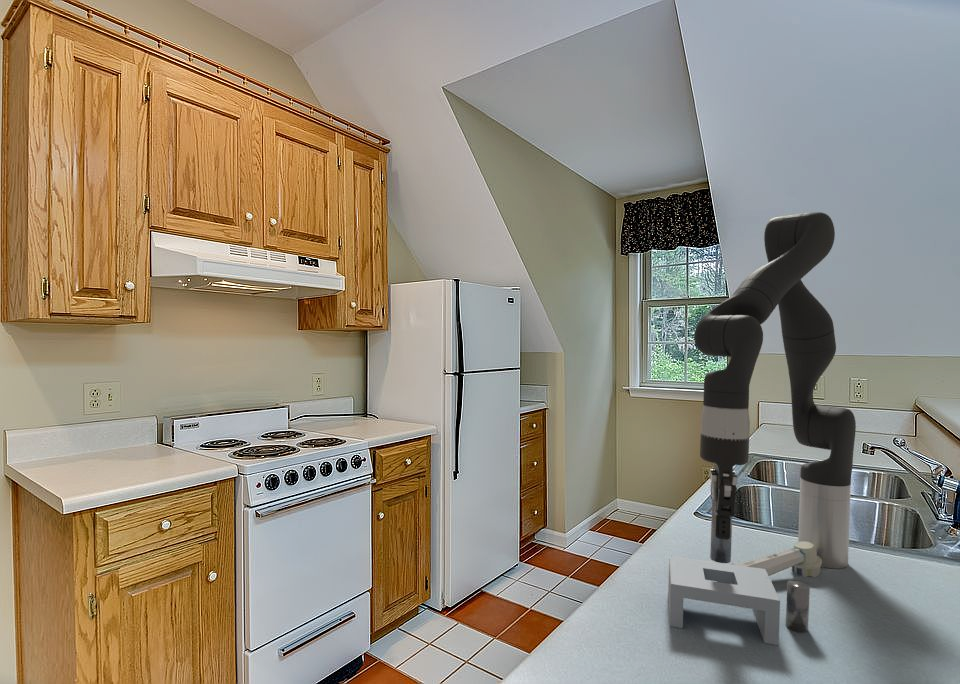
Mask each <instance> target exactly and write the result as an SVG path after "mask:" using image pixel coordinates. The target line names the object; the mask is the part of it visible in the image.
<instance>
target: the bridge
mask: <svg viewBox="0 0 960 684" xmlns="http://www.w3.org/2000/svg"><path fill="white" fill-rule="evenodd" d="M668 561H669V562H668V585H667V586H668V590H667V591H668V597H667V598H668V616H669V618H668V619H669V620H668V621H669V626H670V627H673V628H679V629H683V627H684V599H686V600H687V599H688V600H695V601H700V602H706V603H713V604H719V605H726V606H732V607H737V608H744V609H749V610H752V612H753V615H754V617H755V619H756V622H757V626H758V628H759V631H760V635H761V638H762V640H763V643H764V644H768V645H770V644H771V645H775V646H779V644H780V643H779V641H780V617H781V616H780V615H781V611H780V610H781V600H780V598H779V595H778V593H777V591H776V589H775V587H774V584H773V583H772V580H771V578H770V576H768V573H767V571H766V569H761V568H754V567H746V566H739V565H732V563H731V564H730V563H719V562H715V561H710V560H702V559H695V558H688V557H682V556H676V555H675V556H673V555H669V557H668ZM721 582H724V583H721ZM728 583H731V584H728Z"/></svg>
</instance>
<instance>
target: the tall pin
mask: <svg viewBox="0 0 960 684" xmlns="http://www.w3.org/2000/svg"><path fill="white" fill-rule="evenodd" d="M712 490H713V489H712ZM716 494H717V491H716ZM717 496H718V494H717ZM715 507H716V502H715V501H714V500H713V498H712V499H711V521H710V523H711V525H710V553H709V557H710V560H712V562H718V563H725V564H730V563H731V562H732V560H731V559H732V538H733V536H732V535H733V517H732V518H731V524H730V538H729V539H728V540H726V539H719V538H717V537H716V535H715V525H716V514H715ZM721 508H726V509H728V505H721Z"/></svg>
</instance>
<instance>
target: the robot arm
mask: <svg viewBox="0 0 960 684" xmlns="http://www.w3.org/2000/svg"><path fill="white" fill-rule="evenodd" d="M835 235H836V233H835V225H834V222H833V219H832V218H831V217H830V215H828V214H827V213H824V212H822V211H815V212H814V211H813V212H803V213H796V214H788V215H781V216H776V217H773V218H771V219H769V220H768V221H767V224H766V226H765V228H764V236H763V241H764V249H765V254H766V259H767V262H768V263H766V264H764V265H762V266H761V267H759V268H757V269H756V270H754V271H753V272H752V273H750V274H749V275H748V276H746V278H745V279H744V280H743V281H742V282H741V283H740V284H739V286H738V287H737V288H736V290H735V291H734V292H733V294H732V295H731V296H730V297H729V298H727V299H725V300H724V301H722V302H720V303H719V304H718V305H716V306H715V307H713V308H712V309H710V310H709V311H708V312H707V313H706V314H704V316H703V317H701V319H700V320H699V321H698V323H697V324H696V327H695V330H694V334H693V335H694V337H693V340H694V344H695V347H696V348H697V350H698V351H699V352H700V353H702V354H703V355H705V356H710V357H725V358H726V357H727V358H730V359H729V362H728V364H727V366H726V367H725V368H724V369H718V370H717V369H716V370H713V371H709V372H707V373H706V375H705V377H704V378H703V379H704V380H703V403H702V404H703V405H702V413H701V417H700V442H699V443H700V444H699V445H700V446H699V457H700V459H702V460H703V461H705V462H707V463H710V464H712V463H713V466H712V467H711V469H709V479H710V488H709V490H710V495H711V496H710V498H711V500H712V498H713V500H714V501H715V502H716V507H715V514H716V525H715V535H716V537H717V538H719V539H726V540H728V539H729V538H730V524H731V518H732V519H733V518H734V516H735V506H736V504H735V503H736V500H737V499H736V496H737V490H738V488H737V485H738V475H737V474H736V471H735V470H734V467H735V466H743V465H744V466H745V465H746V464H748V462H749V459H750V458H749V457H750V456H749V454H750V453H749V452H750V451H749V450H750V428H751V427H750V424H751V422H750V421H751V420H750V412H749V405H750V404H749V403H750V384H751V379H752V377H753V373H754V370H755V366H756V363H757V361H758V357H759V354H760V352H761V349H762V346H763V342H764V331H763V327H762V324H764V323H765V322H766V321H767V320H768V319H769V318H770V316H771V314H772V313H773V312H774V310H775V309H776V308H777V307H778V312H779V318H780V327H781V337H782V342H783V349H784V354H785V359H786V364H787V369H788V371H787V372H788V377H789V378H788V379H789V382H790V383H789V384H790V396H791V397H790V398H791V399H790V400H791V415H792V427H793V433H794V436H795V439H796V441H797V442H798V443H799V444H800V445H803V446H806V447H809V448H810V447H811V448H817V449H821V450H822V449H823V450H827V451H830V454H829V457H828V458H826V459H824V460H819V461H812V462H811V461H810V462H806V463H803V464H802V465H801V467H800V477H799V478H800V480H799V509H798V511H799V512H798V539H797V540H798V541H797V542H802V541H805V542H810V543H812V544H813V545H814V547H815V548H816V553H817V556H819V557H820V558H821V559H822V564H821V566H820V567H821V568H829V569H844V568H847V567H848V566H849V547H850V525H851V524H850V521H851V519H850V515H851V488H852V473H853V464H854V461H853V460H854V450H855V439H856V430H857V427H856V426H857V425H856V418H855V415H854V413H853V411H852V410H851V409H848V408H845V407H838V406H830V405H829V406H828V405H820V404H815V401H814V391H815V387H816V385H817V383H818V382H819V380H820V378H821V377H822V375H823V374H824V373H825V371H826V370H827V369H828V367H829V366H830V364H831V362H832V361H833V359H834V357H835V354H836V352H837V351H836V350H837V343H836V336H835V327H834V321H833V319H832V317H831V315H830V314H829V311H827V309H826V308H825V307H824V305H823V304H822V303H821V302H820V301H819V300H818V299H817V298H816V297H815V296H814V295H813V294H812V293H811V292H810V290H809V289H808V288H807V286H806V285H805V283H804V282H803V281H802V279H803V278H804V277H805V276H807V274H808V273H810V272H811V271H812V270H813V269H814V268H815V267H816V266H818V264H820V263H821V262H822V261H823V260H824V259H825V258H826V257H827V256H828V255H829V254H830V252H831V250H832V248H833V246H834V242H835V237H836V236H835ZM712 489H713V490H712ZM716 491H717V494H718V496H717V494H716ZM721 505H728V509H726V508H721Z"/></svg>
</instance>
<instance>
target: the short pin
mask: <svg viewBox="0 0 960 684" xmlns="http://www.w3.org/2000/svg"><path fill="white" fill-rule="evenodd" d="M786 586H787V587H786V605H785V607H786V608H785V627H786V628H787V629H788V630H791V631H793V632H796V633H802V634H804V633H808V631H809V614H810V613H809V611H810V593H811V591H810V589H811V588H810V586H809V585H808V584H807V583H804V582H801V581H797V580H788V581H787V584H786Z"/></svg>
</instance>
